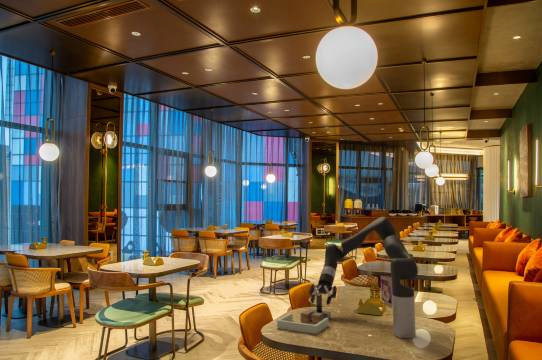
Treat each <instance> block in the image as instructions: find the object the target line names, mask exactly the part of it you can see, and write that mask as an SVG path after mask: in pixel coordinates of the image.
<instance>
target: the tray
mask: <svg viewBox="0 0 542 360" xmlns="http://www.w3.org/2000/svg"><path fill="white" fill-rule="evenodd" d="M293 317H294V316H293V312H291V313H288V314H286V315H285V316H283V317H281V318H279V319H277V320H276V328H277V329H282V330H287V331H288V330H289V331H293V332H294V331H295V332H301V333H309V334H314V335H317V334H319V333H320V332H321V331H323V330H324V329H326V328H327V327H328V326H329V319H328V318H325V319H323V320H322V321H321V322H319V323H315V324H309V323H304V322H296V321H293Z"/></svg>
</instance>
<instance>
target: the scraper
mask: <svg viewBox="0 0 542 360" xmlns="http://www.w3.org/2000/svg"><path fill="white" fill-rule="evenodd" d="M315 300H316V309H311V308H309V309H307V310H306V311H307V312H311V315H312V314H314V313H323V320H324V319H325V318H328V320H329V319H331V318H332V312H331V311H326V310H323V302H322V301H323V294H318V295H316V296H315Z"/></svg>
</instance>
